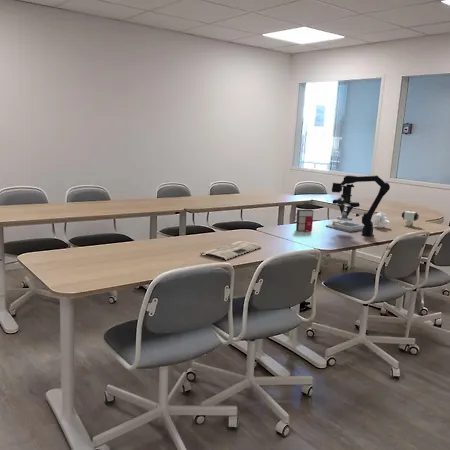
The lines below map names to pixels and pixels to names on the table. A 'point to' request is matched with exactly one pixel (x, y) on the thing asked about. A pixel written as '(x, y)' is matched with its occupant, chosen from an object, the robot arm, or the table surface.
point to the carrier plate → (345, 226)
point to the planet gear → (344, 216)
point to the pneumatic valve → (410, 217)
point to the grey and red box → (304, 220)
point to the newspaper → (233, 249)
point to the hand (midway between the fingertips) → (344, 215)
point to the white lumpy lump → (380, 220)
